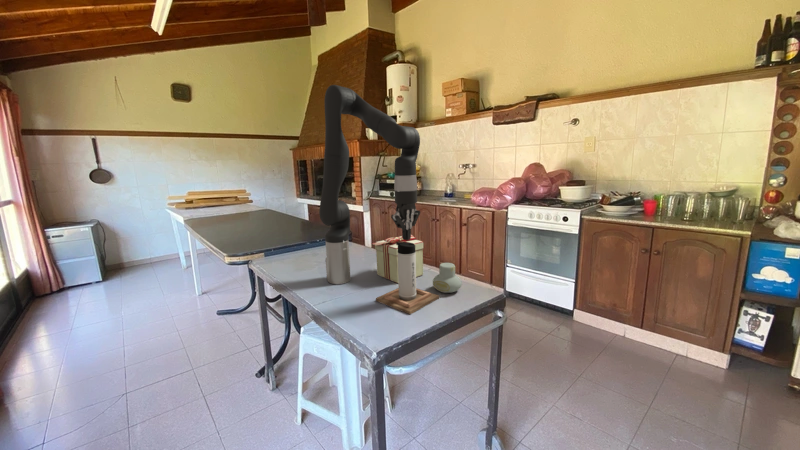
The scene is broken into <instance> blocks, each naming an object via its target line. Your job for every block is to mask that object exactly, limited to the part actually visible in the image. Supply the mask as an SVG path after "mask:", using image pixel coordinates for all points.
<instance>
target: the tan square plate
mask: <svg viewBox="0 0 800 450" xmlns="http://www.w3.org/2000/svg"><path fill="white" fill-rule="evenodd" d="M439 299H440V295H439V294H435V293H433V292H429V291H426V290H423V289H420V288H417V287H416V298H415V299H413V300H402V299H400V298H399V287H398V288H394V289H393V290H391V291H389V292H386V293H384V294H381V295H380V296H378V297H376V298H375V301H376V302H378V303H380V304H382V305H386V306H387V307H390V308H393V309H395V310H398V311H401V312H403V313H406V314H407V315H408V314H409V315H412V314H414V313H416V312H417V311H419V310H421V309H423V308H424V307H426V306H428V305H430V304H431V303H433V302H435V301H437V300H439Z"/></svg>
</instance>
